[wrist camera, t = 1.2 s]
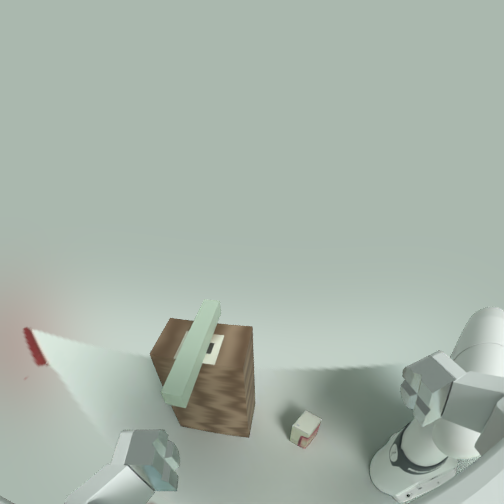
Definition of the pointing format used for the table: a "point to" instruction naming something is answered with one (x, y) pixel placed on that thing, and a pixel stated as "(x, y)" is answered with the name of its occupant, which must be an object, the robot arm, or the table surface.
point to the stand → (213, 378)
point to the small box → (305, 429)
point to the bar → (191, 355)
